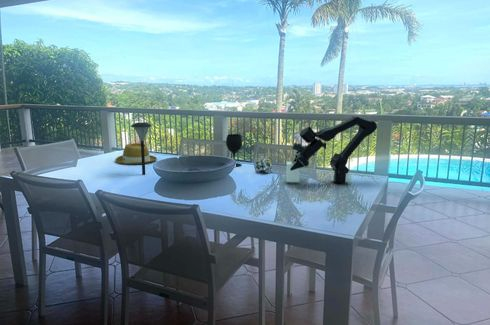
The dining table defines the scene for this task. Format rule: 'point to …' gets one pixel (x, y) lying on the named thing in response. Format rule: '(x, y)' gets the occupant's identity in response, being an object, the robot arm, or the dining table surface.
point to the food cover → (292, 173)
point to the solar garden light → (142, 139)
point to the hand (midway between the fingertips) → (290, 168)
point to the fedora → (134, 155)
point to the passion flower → (264, 165)
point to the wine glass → (234, 144)
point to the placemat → (297, 184)
